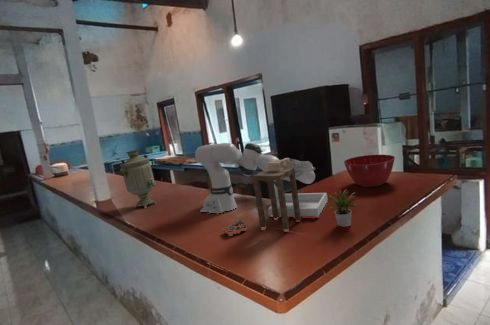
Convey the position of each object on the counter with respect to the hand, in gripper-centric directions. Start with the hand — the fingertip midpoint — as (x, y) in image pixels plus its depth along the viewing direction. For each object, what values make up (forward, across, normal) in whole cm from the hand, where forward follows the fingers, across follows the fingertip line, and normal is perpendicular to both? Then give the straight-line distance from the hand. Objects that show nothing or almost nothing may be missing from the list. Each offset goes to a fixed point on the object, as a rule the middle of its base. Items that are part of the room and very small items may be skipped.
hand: (285, 162), depth 148 cm
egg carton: (+6, +18, -36) cm, 41 cm away
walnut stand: (-4, 0, -30) cm, 30 cm away
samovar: (-11, +113, -26) cm, 116 cm away
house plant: (-9, -27, -27) cm, 39 cm away
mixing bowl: (-65, -24, +5) cm, 69 cm away
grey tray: (-23, +1, -19) cm, 30 cm away
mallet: (+2, 0, -3) cm, 4 cm away
